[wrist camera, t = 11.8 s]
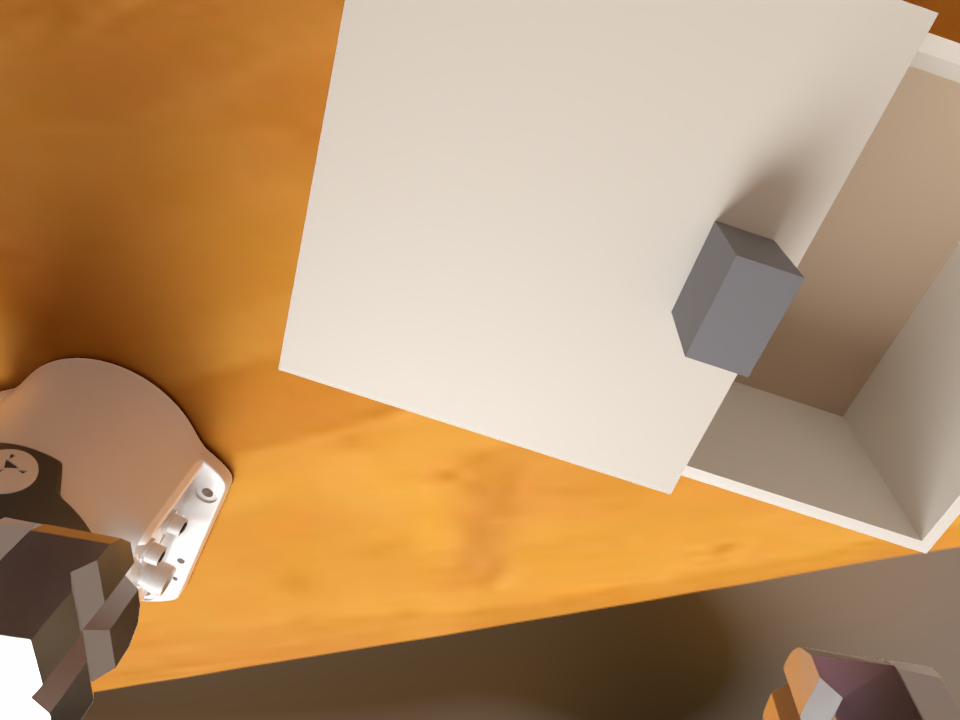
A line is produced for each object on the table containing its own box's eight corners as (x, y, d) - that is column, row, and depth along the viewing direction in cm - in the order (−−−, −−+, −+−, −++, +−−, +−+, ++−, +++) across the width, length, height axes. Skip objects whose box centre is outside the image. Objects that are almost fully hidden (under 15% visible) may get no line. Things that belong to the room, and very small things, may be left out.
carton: (842, 420, 44) (926, 553, 34) (573, 332, 44) (573, 440, 33) (1055, 102, 35) (1264, 149, 24) (715, -16, 34) (778, -20, 24)
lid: (668, 483, 33) (682, 555, 29) (284, 361, 33) (242, 415, 28) (928, 12, 23) (1006, 16, 19) (383, -177, 23) (340, -216, 19)
